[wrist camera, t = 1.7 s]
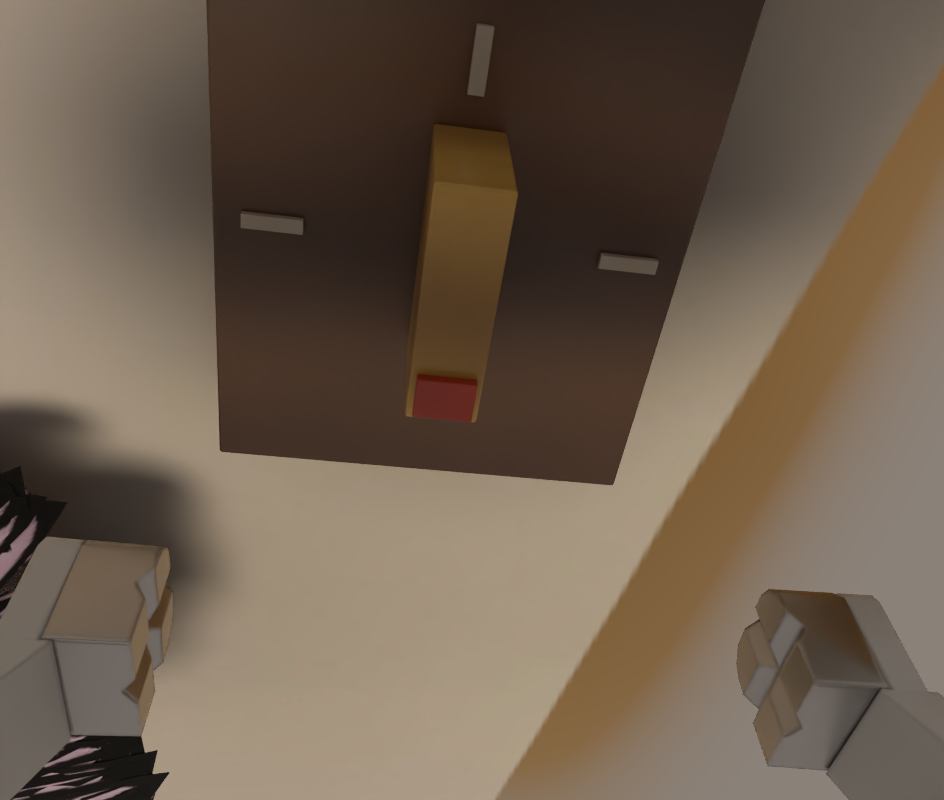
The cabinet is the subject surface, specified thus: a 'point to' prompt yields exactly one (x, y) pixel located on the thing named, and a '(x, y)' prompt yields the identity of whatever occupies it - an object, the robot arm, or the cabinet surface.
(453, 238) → the lock knob
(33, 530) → the decorative flower
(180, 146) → the cabinet surface
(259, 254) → the plate
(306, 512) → the cabinet surface
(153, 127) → the cabinet surface
